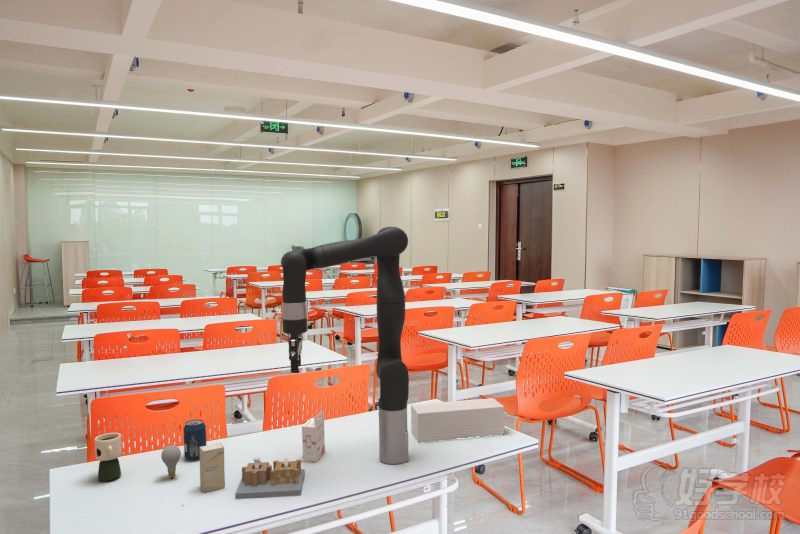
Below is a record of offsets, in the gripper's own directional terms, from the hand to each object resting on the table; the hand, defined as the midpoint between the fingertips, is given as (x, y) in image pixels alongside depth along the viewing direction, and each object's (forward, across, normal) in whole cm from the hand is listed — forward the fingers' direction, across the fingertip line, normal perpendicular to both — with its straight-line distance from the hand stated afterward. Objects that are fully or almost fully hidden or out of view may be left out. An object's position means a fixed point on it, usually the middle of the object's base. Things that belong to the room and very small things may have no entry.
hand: (296, 369), depth 171 cm
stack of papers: (+33, +26, -55) cm, 69 cm away
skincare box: (+32, -8, +24) cm, 41 cm away
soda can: (+32, +15, +35) cm, 50 cm away
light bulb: (+32, 0, +38) cm, 50 cm away
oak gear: (+31, -8, +3) cm, 32 cm away
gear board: (+32, -9, +7) cm, 34 cm away
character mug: (+32, +2, +57) cm, 66 cm away
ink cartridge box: (+32, +11, -4) cm, 34 cm away
